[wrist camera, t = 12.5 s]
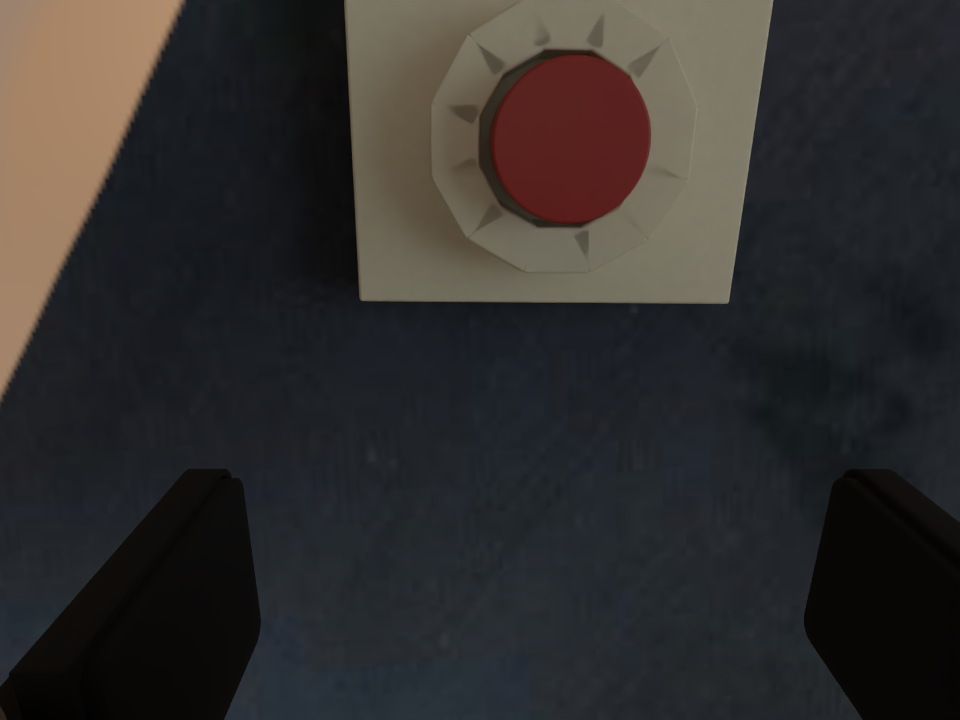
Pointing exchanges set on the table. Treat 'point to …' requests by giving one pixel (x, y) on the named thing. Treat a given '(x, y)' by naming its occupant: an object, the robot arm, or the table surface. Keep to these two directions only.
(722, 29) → the beige button base
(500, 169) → the timer button
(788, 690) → the table surface
